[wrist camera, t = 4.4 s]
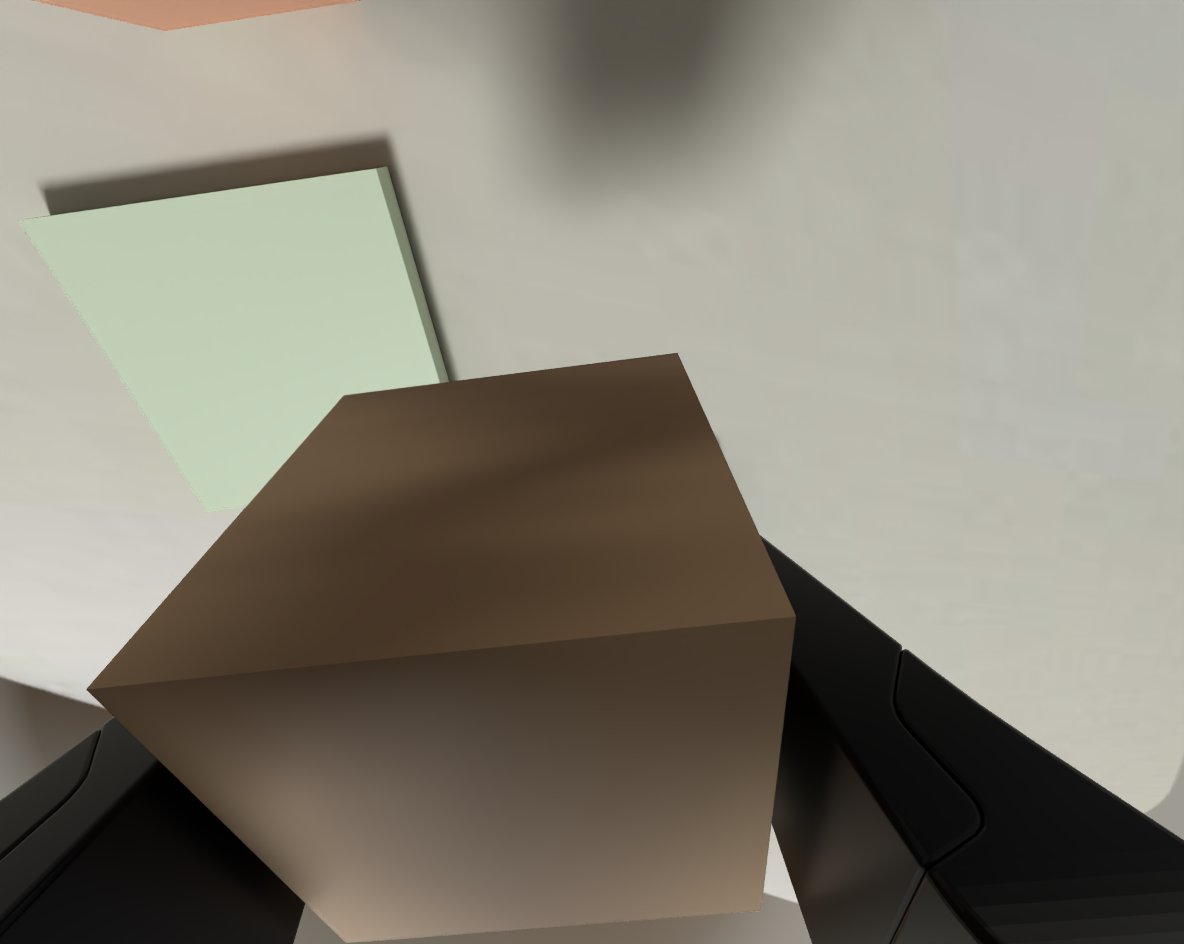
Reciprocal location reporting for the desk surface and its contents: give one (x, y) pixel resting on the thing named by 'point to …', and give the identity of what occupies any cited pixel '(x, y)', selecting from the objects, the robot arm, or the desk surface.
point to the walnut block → (484, 661)
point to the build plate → (247, 314)
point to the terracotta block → (186, 10)
